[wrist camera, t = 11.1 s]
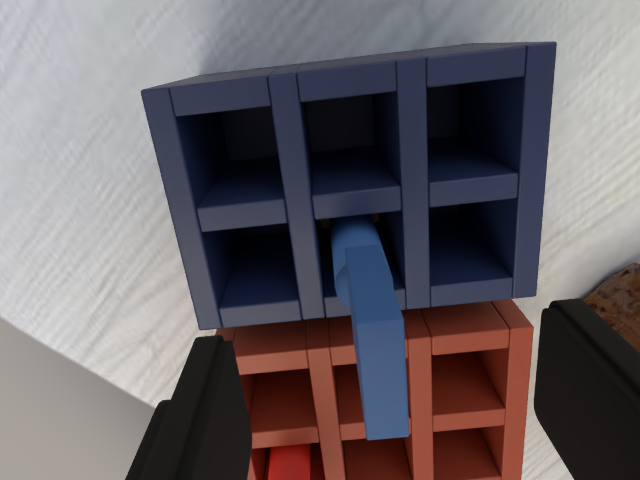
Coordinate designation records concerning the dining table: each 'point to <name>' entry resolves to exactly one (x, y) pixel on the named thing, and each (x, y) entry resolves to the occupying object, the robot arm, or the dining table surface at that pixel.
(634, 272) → the food item
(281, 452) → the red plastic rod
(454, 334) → the red caddy
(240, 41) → the dining table surface
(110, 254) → the dining table surface
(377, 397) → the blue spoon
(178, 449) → the robot arm
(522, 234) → the blue caddy
